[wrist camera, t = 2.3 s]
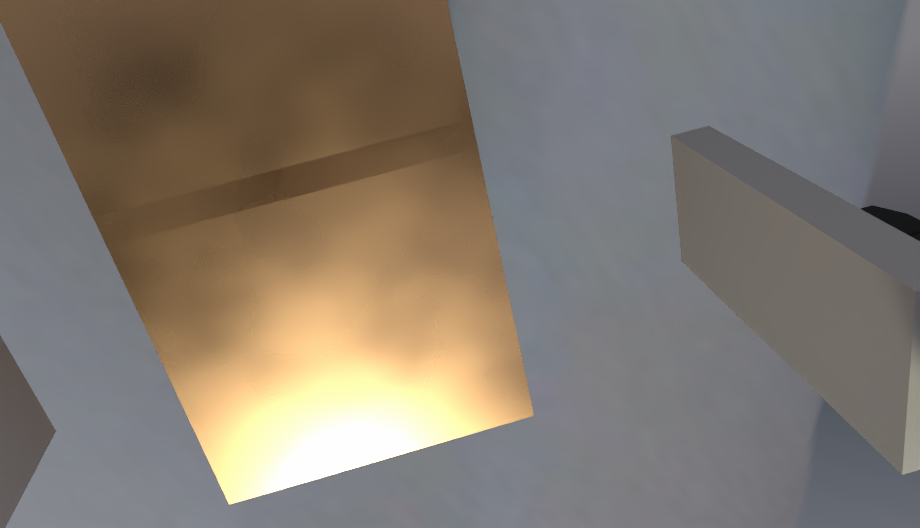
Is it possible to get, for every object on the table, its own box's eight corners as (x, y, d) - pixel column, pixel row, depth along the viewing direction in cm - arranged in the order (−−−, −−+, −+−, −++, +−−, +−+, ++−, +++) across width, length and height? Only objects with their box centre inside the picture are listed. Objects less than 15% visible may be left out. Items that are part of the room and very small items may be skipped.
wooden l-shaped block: (264, 251, 25) (229, 504, 14) (123, -133, 20) (-103, -196, 9) (439, 204, 25) (533, 415, 14) (344, -184, 20) (383, -303, 9)
